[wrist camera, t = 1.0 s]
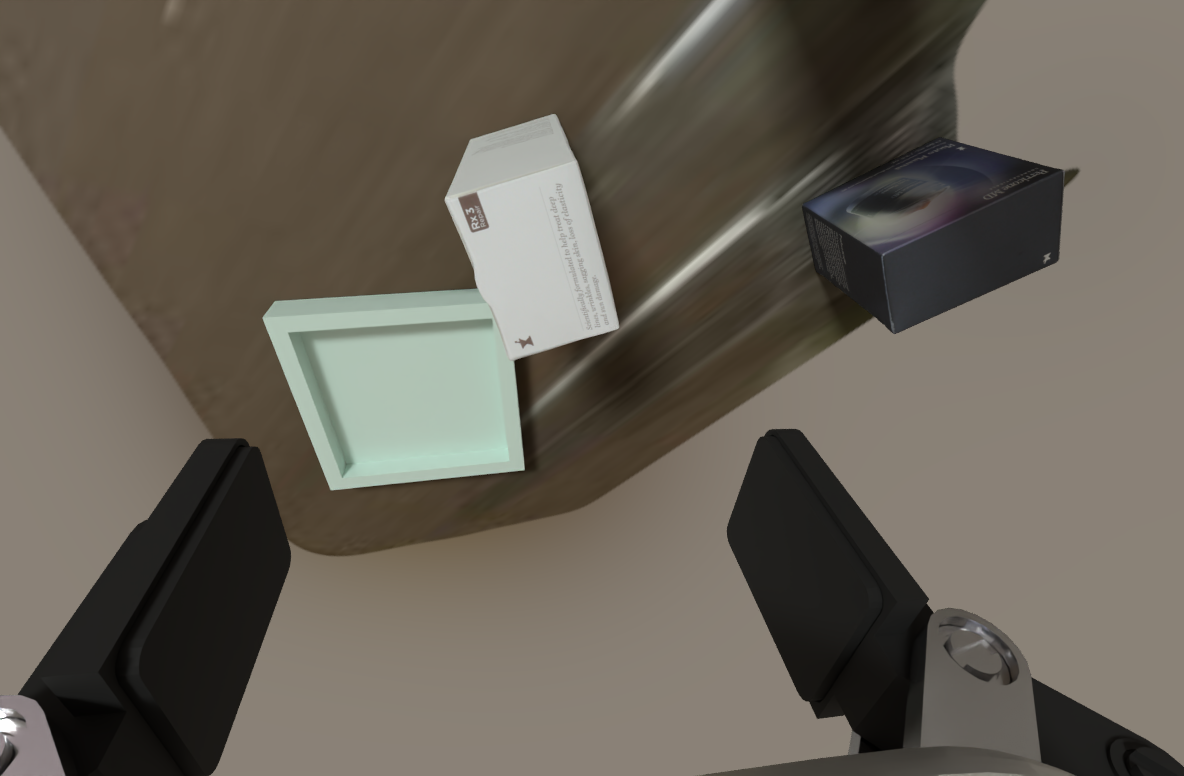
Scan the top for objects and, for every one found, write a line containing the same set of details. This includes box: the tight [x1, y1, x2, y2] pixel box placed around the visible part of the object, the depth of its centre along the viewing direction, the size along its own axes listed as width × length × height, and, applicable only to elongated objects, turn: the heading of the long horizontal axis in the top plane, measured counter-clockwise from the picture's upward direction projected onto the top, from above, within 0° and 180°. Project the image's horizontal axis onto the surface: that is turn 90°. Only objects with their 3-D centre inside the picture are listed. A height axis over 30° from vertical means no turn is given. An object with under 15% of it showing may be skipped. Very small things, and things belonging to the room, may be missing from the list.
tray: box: [263, 289, 525, 490], centre depth 42 cm, size 16×16×2 cm
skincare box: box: [445, 114, 619, 361], centre depth 29 cm, size 8×6×15 cm
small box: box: [802, 137, 1065, 334], centre depth 36 cm, size 11×6×10 cm, turn 115°
